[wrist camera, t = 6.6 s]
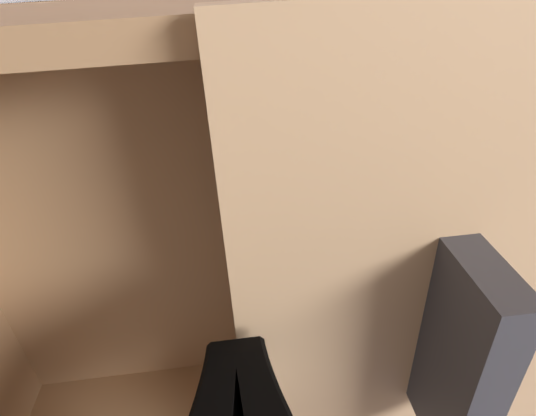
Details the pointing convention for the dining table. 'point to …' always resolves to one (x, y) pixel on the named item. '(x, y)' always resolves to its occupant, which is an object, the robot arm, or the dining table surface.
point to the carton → (106, 210)
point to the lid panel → (380, 198)
